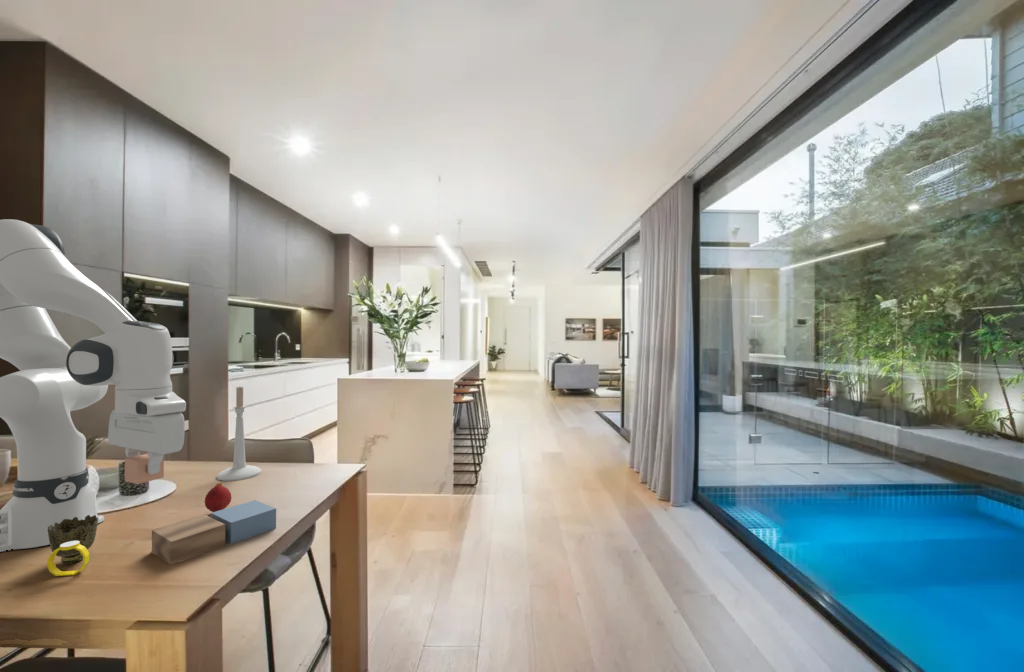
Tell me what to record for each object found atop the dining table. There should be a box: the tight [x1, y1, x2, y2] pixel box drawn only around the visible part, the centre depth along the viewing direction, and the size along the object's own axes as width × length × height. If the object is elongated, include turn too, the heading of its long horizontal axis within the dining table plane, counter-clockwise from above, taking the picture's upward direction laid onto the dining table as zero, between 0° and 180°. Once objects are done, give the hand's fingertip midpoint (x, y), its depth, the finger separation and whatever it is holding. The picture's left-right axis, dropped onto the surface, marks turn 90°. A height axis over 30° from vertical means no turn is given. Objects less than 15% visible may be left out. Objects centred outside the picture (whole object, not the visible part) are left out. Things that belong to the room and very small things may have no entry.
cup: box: [48, 515, 99, 565], centre depth 91 cm, size 8×7×8 cm
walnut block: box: [151, 514, 226, 566], centre depth 96 cm, size 10×10×5 cm
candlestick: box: [216, 386, 262, 482], centre depth 148 cm, size 13×13×30 cm
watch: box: [46, 541, 90, 577], centre depth 85 cm, size 6×3×6 cm, turn 105°
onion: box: [204, 481, 232, 513], centre depth 115 cm, size 6×6×8 cm
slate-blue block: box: [210, 499, 277, 545], centre depth 105 cm, size 10×10×5 cm
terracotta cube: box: [124, 453, 165, 485], centre depth 88 cm, size 4×4×4 cm
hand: (144, 471), depth 88 cm, fingers closed on terracotta cube, 4 cm apart
